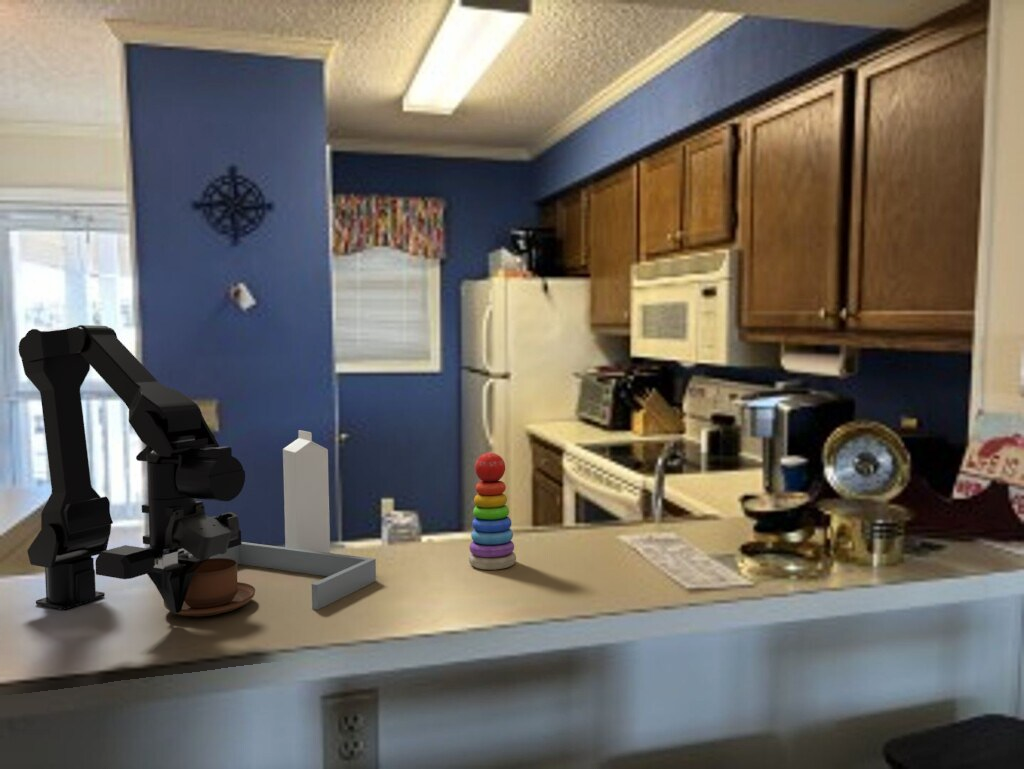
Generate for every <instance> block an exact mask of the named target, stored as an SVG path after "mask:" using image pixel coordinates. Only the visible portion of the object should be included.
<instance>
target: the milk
mask: <svg viewBox="0 0 1024 769" xmlns="http://www.w3.org/2000/svg"><path fill="white" fill-rule="evenodd" d="M297 433H298V436H297V437H298V438H297V439H295V440H293V441H292V442H291V443H289V444H288V445H287V446H285V447H284V448H282V463H283V465H282V466H283V468H282V469H283V470H282V471H283V503H284V504H283V505H284V509H283V510H284V538H285V540H284V541H285V542H284V543H285V544H284V545H285V546H284V547H286V548H294V549H302V550H310V551H318V552H326V553H331V527H330V490H329V489H330V488H329V487H330V486H329V485H330V484H329V483H330V482H329V480H330V479H329V450H328V448H326V447H324V446H322V445H320V444H318V443H316V442H315V441H312V440H313V437H312V435H313V434H312V432H311V431H306V430H302V429H299V430H298V432H297Z"/></svg>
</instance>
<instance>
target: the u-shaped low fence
mask: <svg viewBox="0 0 1024 769" xmlns="http://www.w3.org/2000/svg"><path fill="white" fill-rule="evenodd" d="M212 558H228V559H233V560H235V561H237V566H238V565H246V566H253V567H260V568H267V569H274V570H281V571H288V572H295V573H302V574H310V575H316V576H317V575H318V576H322V577H323V576H324V578H321V579H320V580H317V581H316V582H313V583H311V609H312V610H320V609H323V608H324V607H326V606H329V605H331V604H333V603H334V602H337V601H339V600H341V599H342V598H344V597H347V596H348V595H350V594H352V593H353V594H354V592H356V591H359V590H361V589H362V588H364V587H367V586H368V585H371V584H373V583H375V582H377V565H376V564H377V563H376V558H374V557H373V558H372V557H366V556H365V557H364V556H355V555H348V554H341V553H334V552H330V553H326V552H318V551H310V550H302V549H294V548H286V547H285V546H277V545H270V544H260V543H254V542H245V541H242V544H241V545H238V546H235V547H232V548H229V549H227V552H226V553H224V554H217V555H214V556H211V557H210V558H209V559H212Z"/></svg>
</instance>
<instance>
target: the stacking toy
mask: <svg viewBox="0 0 1024 769" xmlns="http://www.w3.org/2000/svg"><path fill="white" fill-rule="evenodd" d="M474 471H475V474H476V475H477V477H478V479H479V480H481V481H479V482H477V483H476V486H475V491H476V493H478V494H476V495H475V496H474V498H473V504H474V505H475V506H474V508H473V511H472V513H473V516H474V517H475V518H473V520H472V523H471V525H472V528H473V530H472V532H471V535H470V536H471V540H472V541H471V542H470V544H469V551H470V553H469V556H468V563H469V564H470V565H471V566H472V567H473V568H476V569H480V570H492V571H493V570H494V571H495V570H502V569H506V568H510V567H512V566H513V565H514V564H515V563H516V561H517V556H516V553H515V552H514V550H515V544H514V542H513V541H512V539H513V537H514V532H513V530H512V529H511V527H512V520H511V517H510V516H509V513H510V509H509V507H508V505H506V504H507V502H508V497H507V495H506V494H504V493H505V491H506V490H507V489H506V487H507V486H506V484H505V482H503V481H502V480H501V479H502V478H503V477H504V475H505V473H506V463H505V460H504V458H502V456H500V455H499V454H498V453H495V452H486V453H484V454H481V455H480V456H479V457H478V458H477V460H476V461H475V465H474Z"/></svg>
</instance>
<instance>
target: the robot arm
mask: <svg viewBox="0 0 1024 769" xmlns="http://www.w3.org/2000/svg"><path fill="white" fill-rule="evenodd" d="M18 353H19V357H20V359H21V363H22V367H23V372H24V375H25V377H27V378H28V380H29V381H30V382H31V383H32V385H34V387H35V388H36V389H37V390H38V391H39V394H40V401H41V407H42V408H41V409H42V410H41V411H42V417H43V418H42V419H43V426H44V428H43V429H44V435H45V436H44V437H45V445H46V453H47V460H48V468H49V478H50V487H51V493H50V495H49V497H48V499H47V500H46V503H45V505H44V507H43V509H42V510H41V512H40V514H41V515H40V516H41V517H40V518H41V520H40V521H41V522H40V523H41V529H40V531H39V532H38V533H37V535H36V536H35V538H34V539H33V541H32V543H31V544H30V546H29V547H28V549H27V555H28V556H27V557H28V559H29V563H30V565H31V566H37V567H42V568H44V573H45V574H44V577H45V581H44V582H45V597H43V598H40V599H37V600H35V605H39V606H42V607H43V606H44V607H49V608H54V609H59V610H68V609H71V608H74V607H77V606H80V605H83V604H85V603H89V602H92V601H95V600H98V599H100V598H103V597H105V592H102V591H98V590H97V589H96V586H97V585H96V575H97V576H102V577H108V578H115V579H119V580H129V579H130V580H131V579H134V578H138V577H140V576H144V575H147V576H148V577H149V579H150V580H151V581H152V582H153V584H154V586H155V588H156V589H157V591H158V592H159V594H160V596H161V598H162V599H163V602H164V601H165V603H166V605H167V607H168V608H169V610H170V611H169V610H168V611H169V612H170V613H171V614H175V615H177V614H176V613H179V612H180V611H181V609H182V606H183V603H184V600H185V597H186V594H187V591H188V588H189V585H190V582H191V579H192V577H193V575H194V572H195V570H196V569H197V568H198V567H199V566H200V565H201V564H202V563H204V562H205V561H208V560H209V558H210V557H211V556H214V555H217V554H224V553H226V552H227V549H229V548H232V547H235V546H238V545H241V544H242V542H243V541H242V531H241V529H240V523H239V522H240V521H239V515H238V514H236V513H235V512H232V511H227V512H224V513H221V514H220V515H219V516H216V515H214V516H208V515H206V512H205V511H206V509H205V508H206V507H205V505H204V502H203V501H201V500H206V501H207V500H209V501H218V502H230V501H233V500H234V499H235V498H237V497H238V496H239V495H240V494H241V492H242V491H243V489H244V486H245V482H246V471H245V470H244V468H243V465H242V463H241V462H240V461H239V459H238V458H237V457H234V456H233V455H232V454H233V452H232V447H231V446H220V445H219V443H218V441H217V439H216V436H215V434H214V433H213V432H212V431H211V428H210V426H209V425H208V423H207V421H206V420H205V418H204V416H203V413H202V411H201V408H200V407H199V406H198V404H197V403H196V402H195V401H194V400H192V399H191V398H189V397H188V396H187V395H186V394H184V393H182V392H181V391H178V390H175V389H173V388H170V387H169V386H165V385H164V384H162V383H161V382H159V381H158V380H157V378H155V376H153V374H151V372H149V370H148V369H147V368H146V367H145V366H144V365H143V364H142V363H141V362H140V361H139V360H138V359H137V357H135V355H134V354H133V353H132V352H131V351H130V350H129V349H128V348H127V347H126V346H125V345H124V343H123V342H121V340H119V338H118V335H117V333H116V331H115V329H113V328H112V327H109V326H107V325H95V324H94V325H93V324H92V325H89V324H80V325H77V326H73V327H69V328H65V329H54V328H53V329H52V328H51V329H49V328H48V329H47V328H44V329H43V328H31V329H30V330H28V331H27V333H26V334H25V335H24V336H23V337H22V338H21V339H20V341H19V343H18ZM91 367H92V369H94V371H95V372H96V373H97V374H98V375H99V376H100V378H101V379H102V380H103V381H104V382H105V383H106V384H107V385H108V386H109V388H111V390H112V391H114V393H115V394H116V395H117V396H118V397H119V398H120V400H121V401H122V402H123V403H124V404H125V406H126V407H127V409H128V423H129V425H130V426H131V428H132V429H133V430H134V433H135V434H136V435H137V437H138V438H139V440H140V441H141V442H142V443H143V444H144V445H145V447H144V448H143V449H142V450H141V451H140V452H139V453H138V454H137V455H136V457H135V459H136V461H138V462H147V463H146V464H147V467H146V468H147V469H146V470H147V497H148V498H147V500H148V503H145V504H141V513H143V514H148V528H149V529H148V530H149V532H148V533H149V534H145V535H142V544H144V545H149V546H148V547H139V546H133V545H132V546H131V545H126V544H125V545H122V546H116V547H114V548H110V549H108V544H109V541H110V535H111V531H112V525H113V523H114V521H113V519H112V516H111V509H110V508H111V503H110V500H109V498H108V496H101V495H100V494H98V492H97V491H96V490H95V489H94V488H93V485H92V480H91V471H90V463H89V455H88V454H89V453H88V446H87V438H86V437H87V436H86V429H85V428H86V427H85V420H84V410H83V403H82V395H81V388H82V385H83V384H84V382H85V379H86V377H87V376H88V374H89V372H90V370H91V369H90V368H91ZM197 499H198V500H197ZM93 556H94V557H95V556H97V557H96V559H95V560H94V557H93ZM94 561H95V563H94Z"/></svg>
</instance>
